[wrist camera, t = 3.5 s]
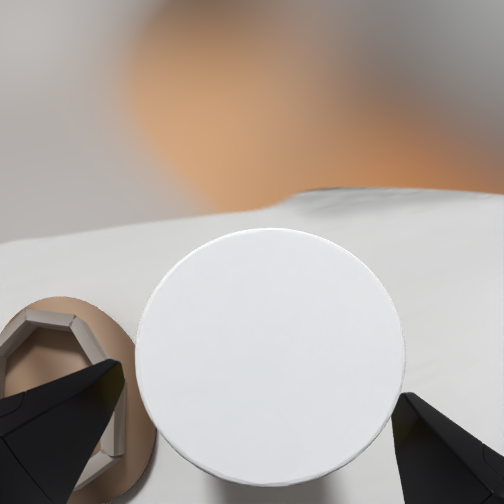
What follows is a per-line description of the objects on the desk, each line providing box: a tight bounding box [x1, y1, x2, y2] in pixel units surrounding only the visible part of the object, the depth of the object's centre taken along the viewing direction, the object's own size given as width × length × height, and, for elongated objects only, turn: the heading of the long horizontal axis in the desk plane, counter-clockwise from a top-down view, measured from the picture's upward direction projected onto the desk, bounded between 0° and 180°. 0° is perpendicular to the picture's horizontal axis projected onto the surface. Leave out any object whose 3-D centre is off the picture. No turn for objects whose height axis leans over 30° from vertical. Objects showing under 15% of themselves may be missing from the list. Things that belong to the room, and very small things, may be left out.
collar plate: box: [0, 297, 156, 504], centre depth 13 cm, size 15×15×4 cm
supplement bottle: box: [135, 228, 406, 487], centre depth 10 cm, size 7×7×13 cm
